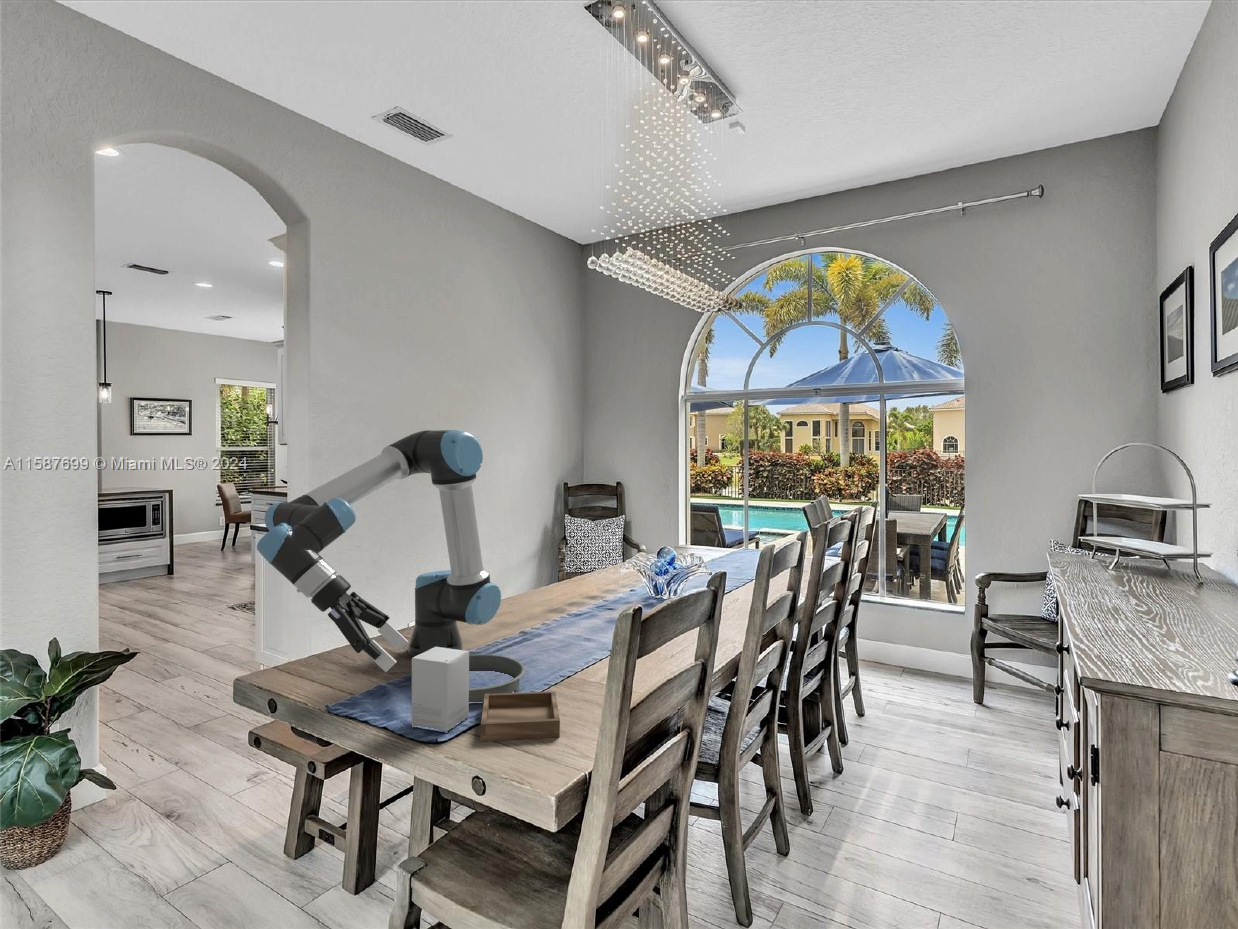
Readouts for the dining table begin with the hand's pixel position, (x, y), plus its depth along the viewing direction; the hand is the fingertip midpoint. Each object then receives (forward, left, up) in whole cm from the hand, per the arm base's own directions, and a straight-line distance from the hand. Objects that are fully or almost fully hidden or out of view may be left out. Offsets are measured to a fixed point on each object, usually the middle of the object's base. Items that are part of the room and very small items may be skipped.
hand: (397, 656), depth 135 cm
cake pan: (-21, +15, -15) cm, 30 cm away
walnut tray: (+1, +26, -15) cm, 30 cm away
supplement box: (-1, +9, -15) cm, 18 cm away
